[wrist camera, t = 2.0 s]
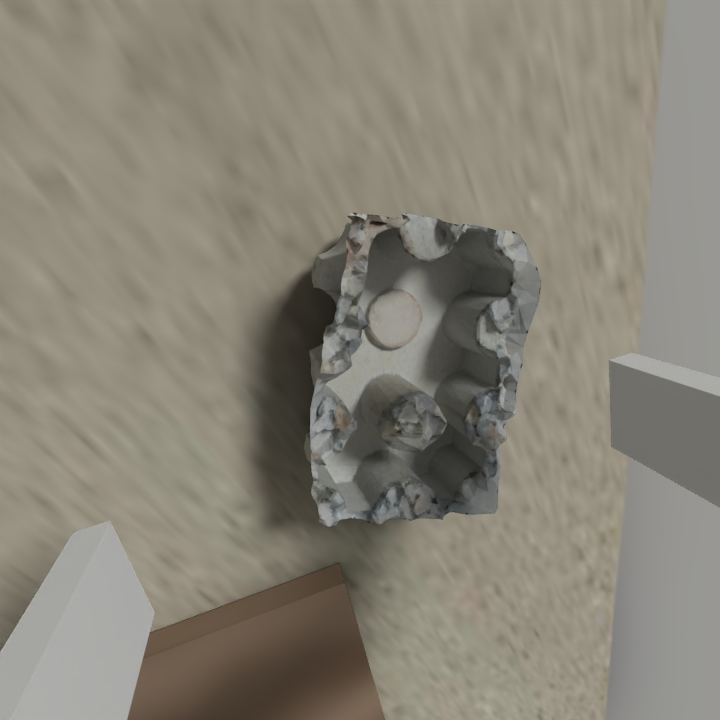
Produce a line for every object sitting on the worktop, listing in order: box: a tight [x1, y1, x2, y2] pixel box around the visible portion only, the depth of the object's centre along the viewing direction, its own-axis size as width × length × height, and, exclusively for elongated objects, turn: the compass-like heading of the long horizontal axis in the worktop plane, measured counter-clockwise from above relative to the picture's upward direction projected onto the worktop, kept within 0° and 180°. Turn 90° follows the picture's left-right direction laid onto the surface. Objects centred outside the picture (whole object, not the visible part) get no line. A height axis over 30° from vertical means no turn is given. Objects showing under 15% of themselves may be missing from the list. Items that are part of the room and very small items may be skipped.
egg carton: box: [304, 213, 541, 527], centre depth 15 cm, size 11×8×4 cm
